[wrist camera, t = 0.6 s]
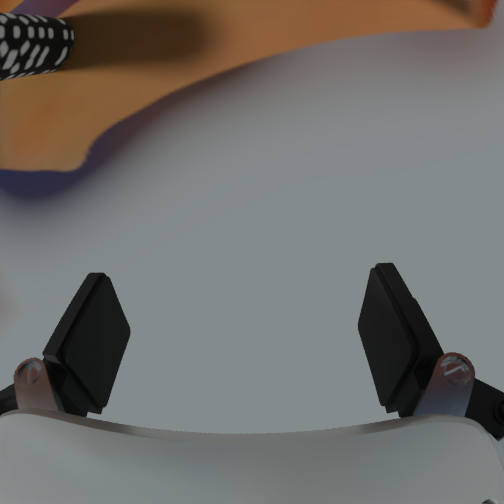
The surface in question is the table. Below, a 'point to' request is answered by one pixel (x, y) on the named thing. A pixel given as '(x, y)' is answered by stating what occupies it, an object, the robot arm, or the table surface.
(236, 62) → the table surface
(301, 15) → the table surface
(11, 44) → the spotted tube
